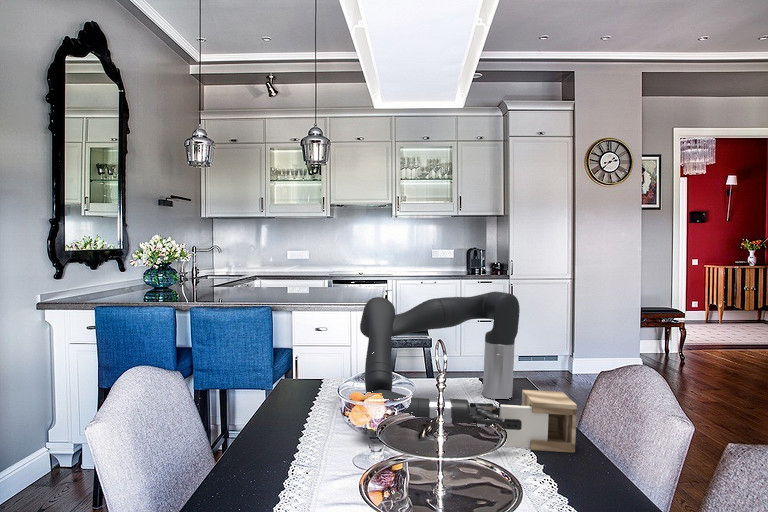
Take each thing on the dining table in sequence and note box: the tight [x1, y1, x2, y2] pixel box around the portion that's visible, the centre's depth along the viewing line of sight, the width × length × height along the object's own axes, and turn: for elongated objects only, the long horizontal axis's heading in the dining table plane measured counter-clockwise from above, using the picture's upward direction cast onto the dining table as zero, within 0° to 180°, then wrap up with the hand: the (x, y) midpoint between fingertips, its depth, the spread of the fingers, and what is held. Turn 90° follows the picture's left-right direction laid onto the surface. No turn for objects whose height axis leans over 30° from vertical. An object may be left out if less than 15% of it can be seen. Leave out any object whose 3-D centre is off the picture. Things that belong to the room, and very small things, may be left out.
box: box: [520, 389, 578, 453], centre depth 123 cm, size 11×10×11 cm
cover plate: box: [499, 404, 549, 449], centre depth 119 cm, size 2×11×9 cm, turn 87°
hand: (517, 418), depth 119 cm, fingers open, 8 cm apart
